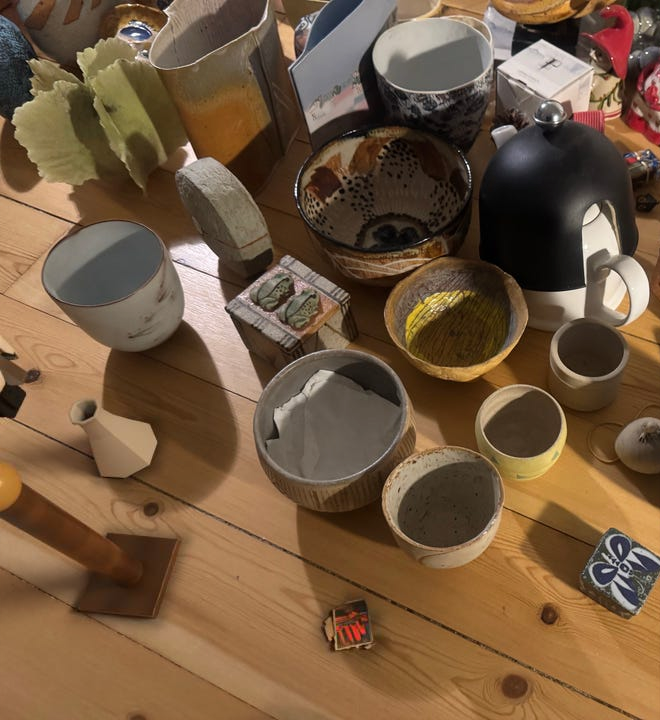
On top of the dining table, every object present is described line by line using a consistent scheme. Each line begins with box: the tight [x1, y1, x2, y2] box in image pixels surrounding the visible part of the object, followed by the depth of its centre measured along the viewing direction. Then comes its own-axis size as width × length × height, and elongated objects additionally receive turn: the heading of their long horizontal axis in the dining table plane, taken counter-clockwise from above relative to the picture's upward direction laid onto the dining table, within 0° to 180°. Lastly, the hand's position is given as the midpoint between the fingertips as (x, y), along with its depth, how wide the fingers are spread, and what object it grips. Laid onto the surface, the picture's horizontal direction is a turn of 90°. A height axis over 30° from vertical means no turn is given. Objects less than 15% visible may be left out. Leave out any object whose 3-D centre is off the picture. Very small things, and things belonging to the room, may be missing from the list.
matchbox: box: [323, 598, 377, 651], centre depth 71 cm, size 5×5×1 cm
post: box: [0, 461, 182, 619], centre depth 64 cm, size 8×8×26 cm
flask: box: [67, 397, 158, 479], centre depth 79 cm, size 7×7×10 cm
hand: (13, 405), depth 75 cm, fingers closed
